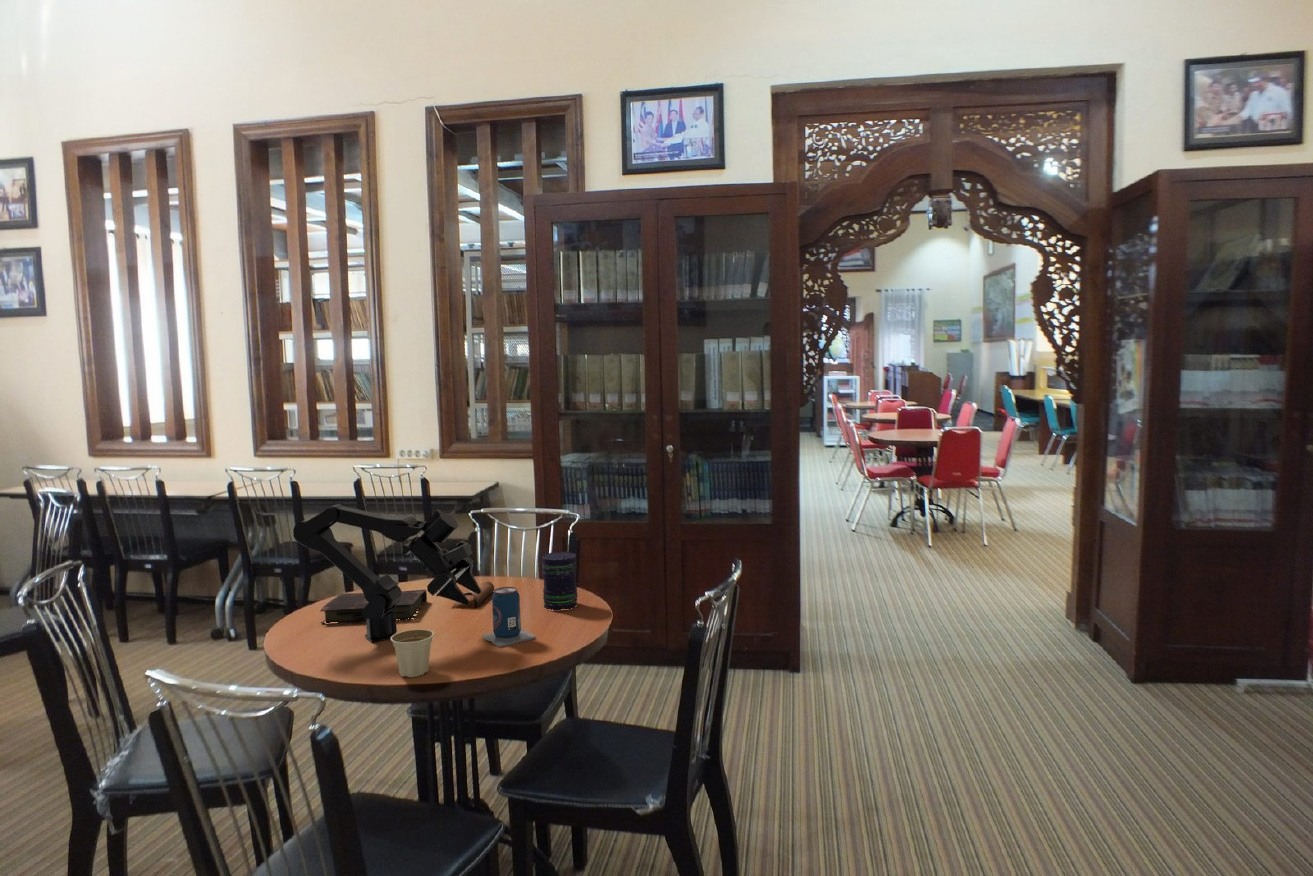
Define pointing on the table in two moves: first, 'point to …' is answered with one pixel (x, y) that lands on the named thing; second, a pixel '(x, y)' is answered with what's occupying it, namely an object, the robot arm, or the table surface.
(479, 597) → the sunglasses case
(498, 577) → the table surface
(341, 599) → the diary
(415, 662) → the flower pot
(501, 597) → the soda can
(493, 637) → the coaster
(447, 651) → the table surface
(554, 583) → the storage jar
